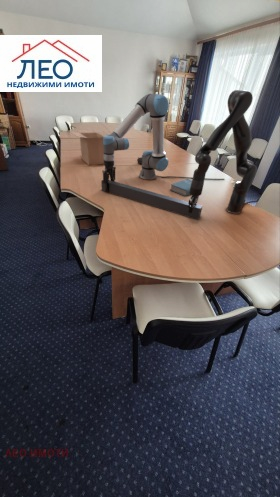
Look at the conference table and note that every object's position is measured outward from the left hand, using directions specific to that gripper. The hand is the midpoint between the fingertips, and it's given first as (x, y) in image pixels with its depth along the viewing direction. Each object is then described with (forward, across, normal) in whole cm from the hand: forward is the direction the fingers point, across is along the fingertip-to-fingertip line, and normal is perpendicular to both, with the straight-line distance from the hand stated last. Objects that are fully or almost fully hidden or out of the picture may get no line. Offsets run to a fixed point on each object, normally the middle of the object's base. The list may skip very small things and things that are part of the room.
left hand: (109, 190), depth 174 cm
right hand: (-3, 0, -67) cm, 67 cm away
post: (+1, 0, -34) cm, 34 cm away
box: (+1, +56, +63) cm, 84 cm away
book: (+1, +42, -48) cm, 64 cm away
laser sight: (0, +85, +13) cm, 86 cm away
